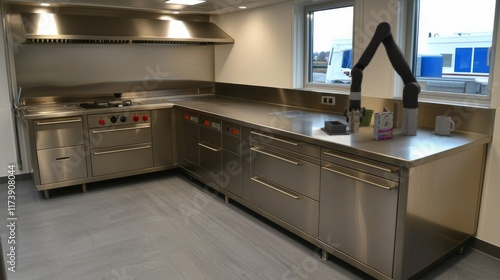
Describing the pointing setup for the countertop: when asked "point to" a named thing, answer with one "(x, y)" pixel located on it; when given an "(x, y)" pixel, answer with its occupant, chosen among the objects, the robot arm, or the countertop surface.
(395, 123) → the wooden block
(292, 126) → the countertop surface
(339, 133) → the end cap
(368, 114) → the plant pot
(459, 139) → the countertop surface
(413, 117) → the robot arm
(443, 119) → the mug
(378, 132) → the candy bar box
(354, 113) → the beige printed box
